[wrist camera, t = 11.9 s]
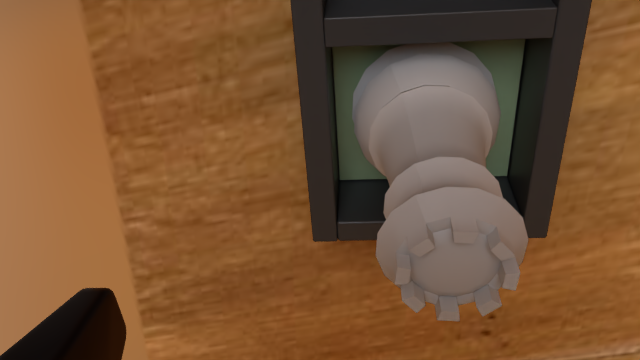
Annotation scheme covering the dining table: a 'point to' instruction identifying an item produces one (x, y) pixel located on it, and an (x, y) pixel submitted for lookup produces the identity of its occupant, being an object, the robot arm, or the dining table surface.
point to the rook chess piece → (438, 178)
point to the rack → (435, 27)
